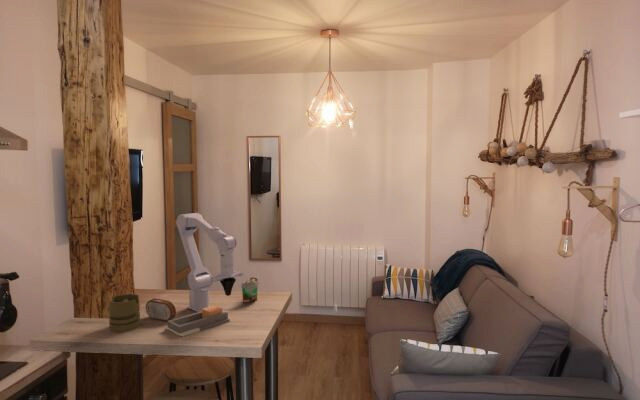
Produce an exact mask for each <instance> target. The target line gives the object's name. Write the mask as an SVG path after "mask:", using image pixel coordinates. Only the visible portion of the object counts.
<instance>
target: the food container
mask: <svg viewBox="0 0 640 400" xmlns="http://www.w3.org/2000/svg"><path fill="white" fill-rule="evenodd" d="M259 285H260V281H259V279H258V278H257V277H255V276H254V277H253V276H250V279H249V280H245V282H243V283H241V290H242V291H241V292H242V304H252V303H255V301H256V302H257V301H258V289H259Z"/></svg>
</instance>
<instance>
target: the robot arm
mask: <svg viewBox="0 0 640 400" xmlns="http://www.w3.org/2000/svg"><path fill="white" fill-rule="evenodd" d="M175 223H176V226H177V229H178V232H179V235H180V236H179V237H180V239H181V242H182V246H183V248H184V252H185V255H186V258H187V263H188V265H189V267H190V272H189V273H188V275H187V280H188V281H187V282H188V283H187V284H188V287H189V289H190V291H189V293H188V299H189V301H188V302H189V306H187V308H188V309H190V310H192V311H194V312H195V313H197V312H201V311H202V309H203V308H207V307H210V306H211V305H210V304H211V303H210V289H211V286H212V285H213V283H216V282H220V284H221V286H222V288H223V291H224V294H225V296H226V297H229V296H231V295H232V290H233V288H234V284H235V283H236V281H237V279H236V278H237V277H243V276H244V275H243V273H244V272H243V271H242V270H238V271H237V270H236V271H235V251H234V250H235V248H236V247H237V239H236V238H235V236H234V235H231V234H230V235H229V234H227V233H226V232H223V230H221V229H220V227H219V226H211V224H210V223H208V222H207V221H206V220H205V219H204V218H203V215H202V214H200V213H199V212H194V213H193V212H192V213H181V214H179V215H178V216H177V218H176V221H175ZM199 229H200V230H201V231H202V232H204V233H205V234H207V238H208V239H209V240H211V241H212V242H213V243H214V244H216V247H217V249H218V253H219V256H220V259H219V263H220V274H217V275H214V276H212V274H211V273H210V271H209V270H210V269H208V268H206V267H204V266H203V262H202V260H201V256H200V253H199V250H198V248H197V244H196V241H195V237H194V233H195V232H196V231H197V230H199Z"/></svg>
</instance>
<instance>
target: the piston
mask: <svg viewBox="0 0 640 400" xmlns="http://www.w3.org/2000/svg"><path fill="white" fill-rule="evenodd" d="M139 298H140V297H139V294H135V293H125V294H119V295H115V296H112V298H111V299H112V300H110V301H108V315H109V317H108V321H109V322H108V324H109V325H108V326H109V331H110V332H111V333H127V332H132V331H135V330H136V329H138V328H140V326H141V313H140V299H139Z"/></svg>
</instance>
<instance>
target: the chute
mask: <svg viewBox="0 0 640 400" xmlns="http://www.w3.org/2000/svg"><path fill="white" fill-rule="evenodd" d="M229 322H230V318H229V312H228V311H224V312H223V311H222V313H220V314H217V315H213V316H210V317H206V318H202V311H201V312H194V313H190V314H187V315H183V316H180V317H176V318H173V319H171V320H169V321H166V324H167V325H166V326H165V328H166V330H168V331H169V330H170V332H171V331H172V332H171V333H173V332H174V333H173V334H175V333H176V334H175V335H177V336H178V335H179V337H180V336H182V337H184V336H185V335H186V336H188V335H191V334H194V333H198V332H201V331H203V330H208V329H210V328H213V327H217V326H220V325H223V324H225V323H229Z"/></svg>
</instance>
